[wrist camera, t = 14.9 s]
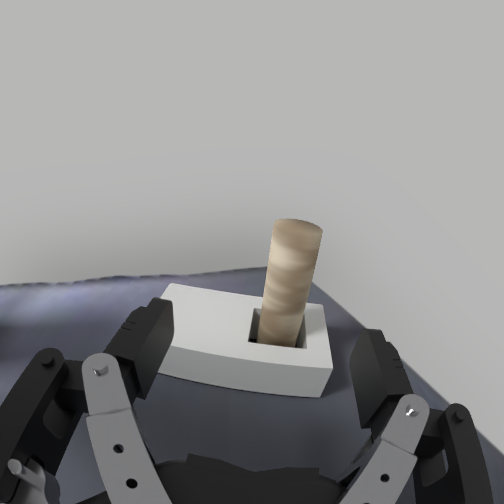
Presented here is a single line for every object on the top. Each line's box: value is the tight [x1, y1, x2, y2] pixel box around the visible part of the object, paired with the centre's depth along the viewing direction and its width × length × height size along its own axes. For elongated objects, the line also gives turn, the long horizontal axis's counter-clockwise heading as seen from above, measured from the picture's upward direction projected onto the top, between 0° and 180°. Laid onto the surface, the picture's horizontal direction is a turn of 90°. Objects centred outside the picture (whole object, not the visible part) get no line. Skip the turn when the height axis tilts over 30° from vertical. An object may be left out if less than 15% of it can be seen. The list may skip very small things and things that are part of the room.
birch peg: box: [256, 219, 322, 348], centre depth 25 cm, size 4×4×15 cm
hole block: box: [158, 283, 333, 398], centre depth 27 cm, size 18×10×4 cm, turn 84°
